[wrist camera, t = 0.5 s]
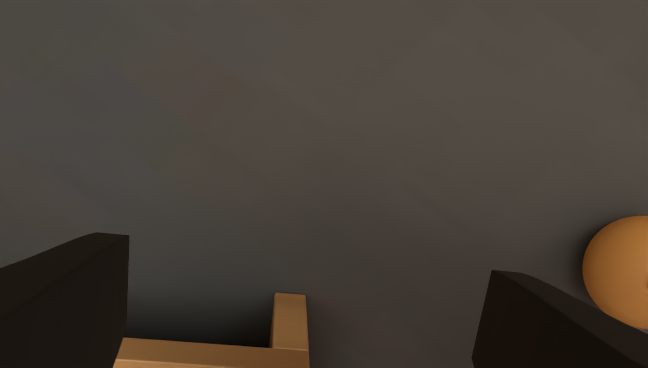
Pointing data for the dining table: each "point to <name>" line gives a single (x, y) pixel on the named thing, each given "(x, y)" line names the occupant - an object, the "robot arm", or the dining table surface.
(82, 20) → the dining table surface
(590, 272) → the figurine
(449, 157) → the dining table surface
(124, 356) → the shelf
